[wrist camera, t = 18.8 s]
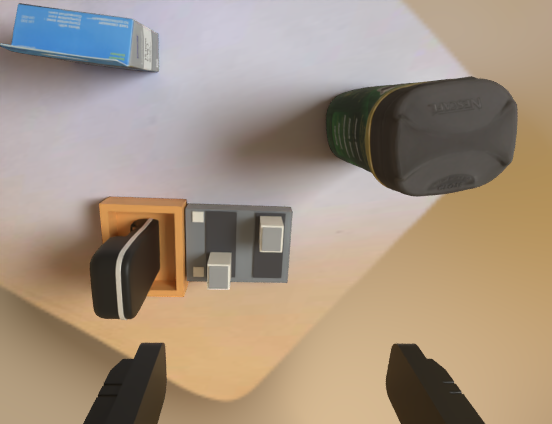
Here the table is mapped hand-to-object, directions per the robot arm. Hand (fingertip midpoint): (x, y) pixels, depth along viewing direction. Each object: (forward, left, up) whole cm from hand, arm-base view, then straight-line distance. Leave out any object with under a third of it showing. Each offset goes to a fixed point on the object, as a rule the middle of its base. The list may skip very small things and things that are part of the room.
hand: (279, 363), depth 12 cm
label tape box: (-15, +13, -30) cm, 36 cm away
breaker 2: (+2, -5, -28) cm, 28 cm away
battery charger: (-13, -8, -30) cm, 33 cm away
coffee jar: (+12, +7, -30) cm, 33 cm away
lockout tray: (-12, -8, -30) cm, 34 cm away
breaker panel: (-2, -8, -30) cm, 31 cm away
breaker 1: (-4, -10, -28) cm, 30 cm away
